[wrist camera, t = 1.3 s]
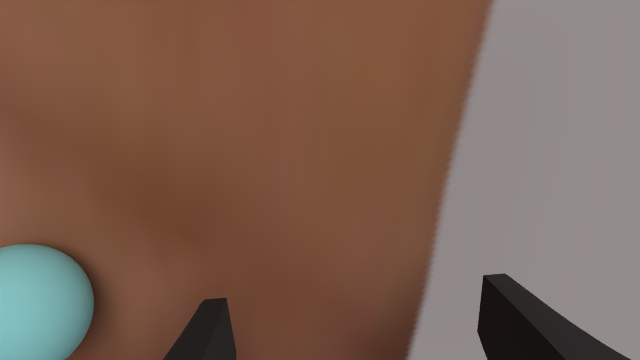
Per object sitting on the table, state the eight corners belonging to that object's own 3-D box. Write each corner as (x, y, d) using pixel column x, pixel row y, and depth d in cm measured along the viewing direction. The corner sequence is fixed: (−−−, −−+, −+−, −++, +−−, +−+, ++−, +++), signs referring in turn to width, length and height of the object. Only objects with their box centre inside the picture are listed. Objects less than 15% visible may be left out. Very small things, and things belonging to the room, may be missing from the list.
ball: (123, 311, 17) (80, 405, 14) (10, 321, 17) (-63, 419, 14) (94, 215, 16) (37, 293, 12) (-32, 225, 16) (-127, 308, 12)
